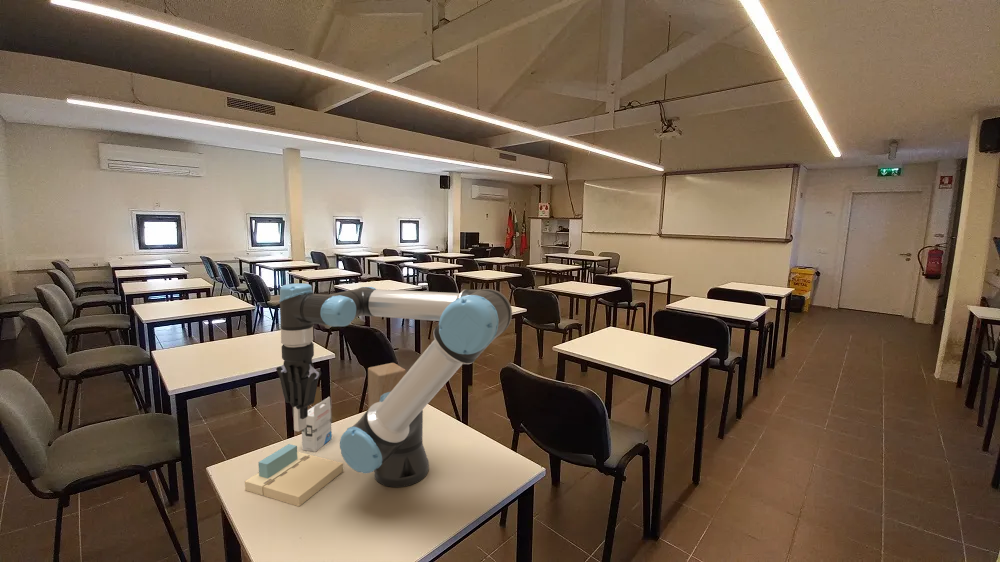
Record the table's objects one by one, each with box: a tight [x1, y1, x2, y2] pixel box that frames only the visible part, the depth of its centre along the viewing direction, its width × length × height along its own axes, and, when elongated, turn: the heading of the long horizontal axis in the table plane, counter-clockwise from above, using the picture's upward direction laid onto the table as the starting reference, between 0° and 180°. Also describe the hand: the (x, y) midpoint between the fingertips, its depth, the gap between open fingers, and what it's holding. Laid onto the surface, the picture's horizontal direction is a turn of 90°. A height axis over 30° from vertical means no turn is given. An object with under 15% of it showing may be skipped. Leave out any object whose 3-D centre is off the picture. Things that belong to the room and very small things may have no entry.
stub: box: [244, 443, 311, 496], centre depth 113 cm, size 6×16×6 cm, turn 161°
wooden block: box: [367, 362, 407, 409], centre depth 145 cm, size 10×10×20 cm
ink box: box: [301, 396, 333, 452], centre depth 130 cm, size 9×5×15 cm, turn 168°
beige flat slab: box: [263, 454, 344, 507], centre depth 111 cm, size 12×16×3 cm
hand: (300, 428), depth 109 cm, fingers closed
